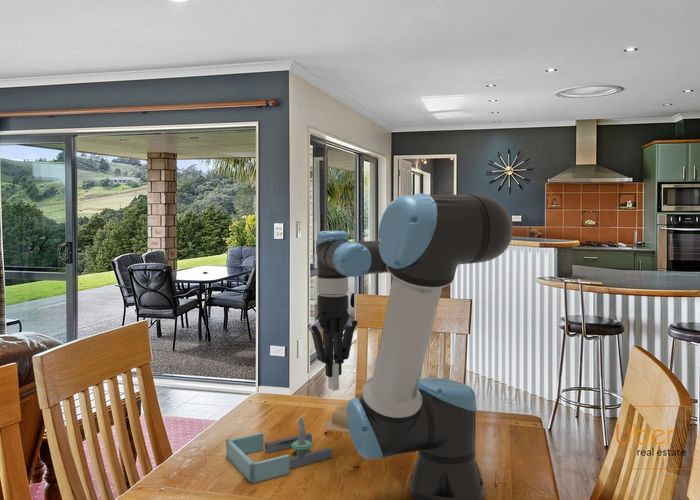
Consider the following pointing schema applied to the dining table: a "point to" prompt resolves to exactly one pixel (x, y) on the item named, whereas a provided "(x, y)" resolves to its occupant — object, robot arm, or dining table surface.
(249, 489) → the dining table surface
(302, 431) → the screw
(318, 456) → the slot
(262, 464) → the bracket
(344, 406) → the mask
